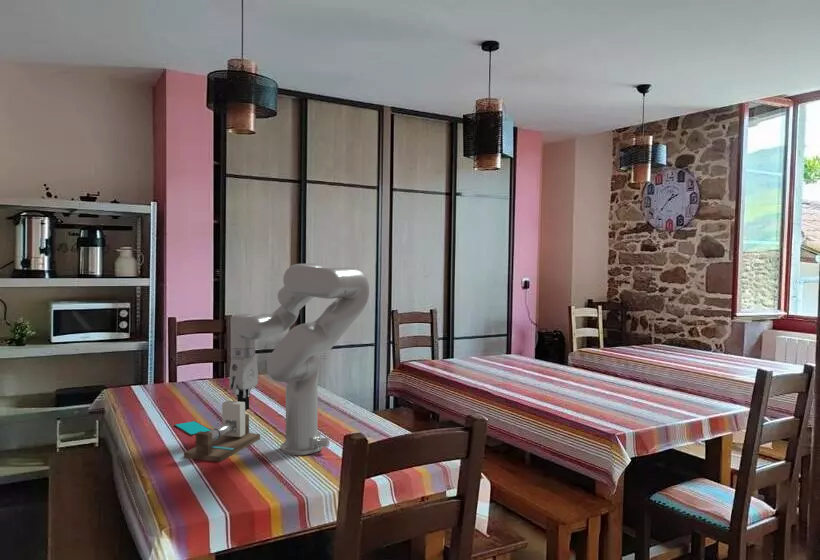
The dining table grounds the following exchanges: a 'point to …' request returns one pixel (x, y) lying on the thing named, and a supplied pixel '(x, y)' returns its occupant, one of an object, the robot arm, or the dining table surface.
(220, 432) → the pipe rig
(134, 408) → the dining table surface
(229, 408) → the collar
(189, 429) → the smartphone
